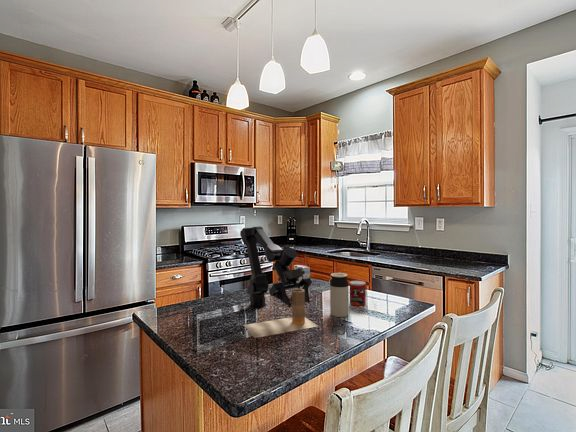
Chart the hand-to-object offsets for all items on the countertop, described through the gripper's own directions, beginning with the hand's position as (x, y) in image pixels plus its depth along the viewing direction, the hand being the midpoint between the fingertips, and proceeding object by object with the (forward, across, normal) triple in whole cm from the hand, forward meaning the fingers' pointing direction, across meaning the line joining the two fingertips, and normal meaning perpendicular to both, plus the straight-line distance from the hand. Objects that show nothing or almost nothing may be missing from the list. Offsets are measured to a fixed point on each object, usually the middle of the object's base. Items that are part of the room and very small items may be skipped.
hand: (300, 304), depth 126 cm
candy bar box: (-18, +28, +31) cm, 46 cm away
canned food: (+2, +40, +11) cm, 42 cm away
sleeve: (+5, 0, +6) cm, 8 cm away
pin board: (+5, -8, +8) cm, 12 cm away
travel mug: (+6, +23, +7) cm, 25 cm away
